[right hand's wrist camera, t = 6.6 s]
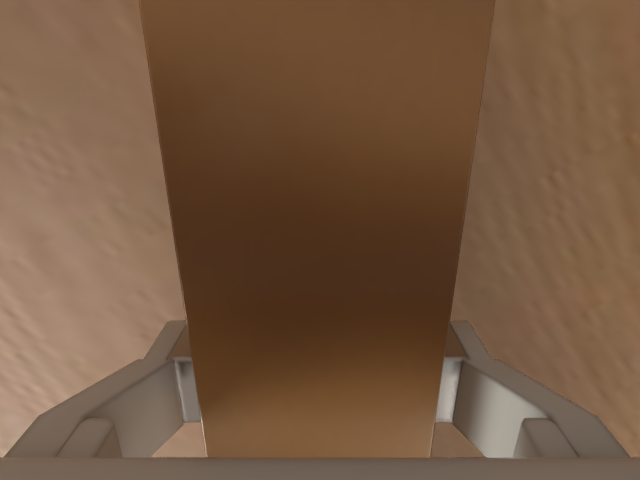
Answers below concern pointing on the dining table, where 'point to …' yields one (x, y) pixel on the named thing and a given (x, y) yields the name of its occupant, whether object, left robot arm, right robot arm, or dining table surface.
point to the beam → (317, 211)
